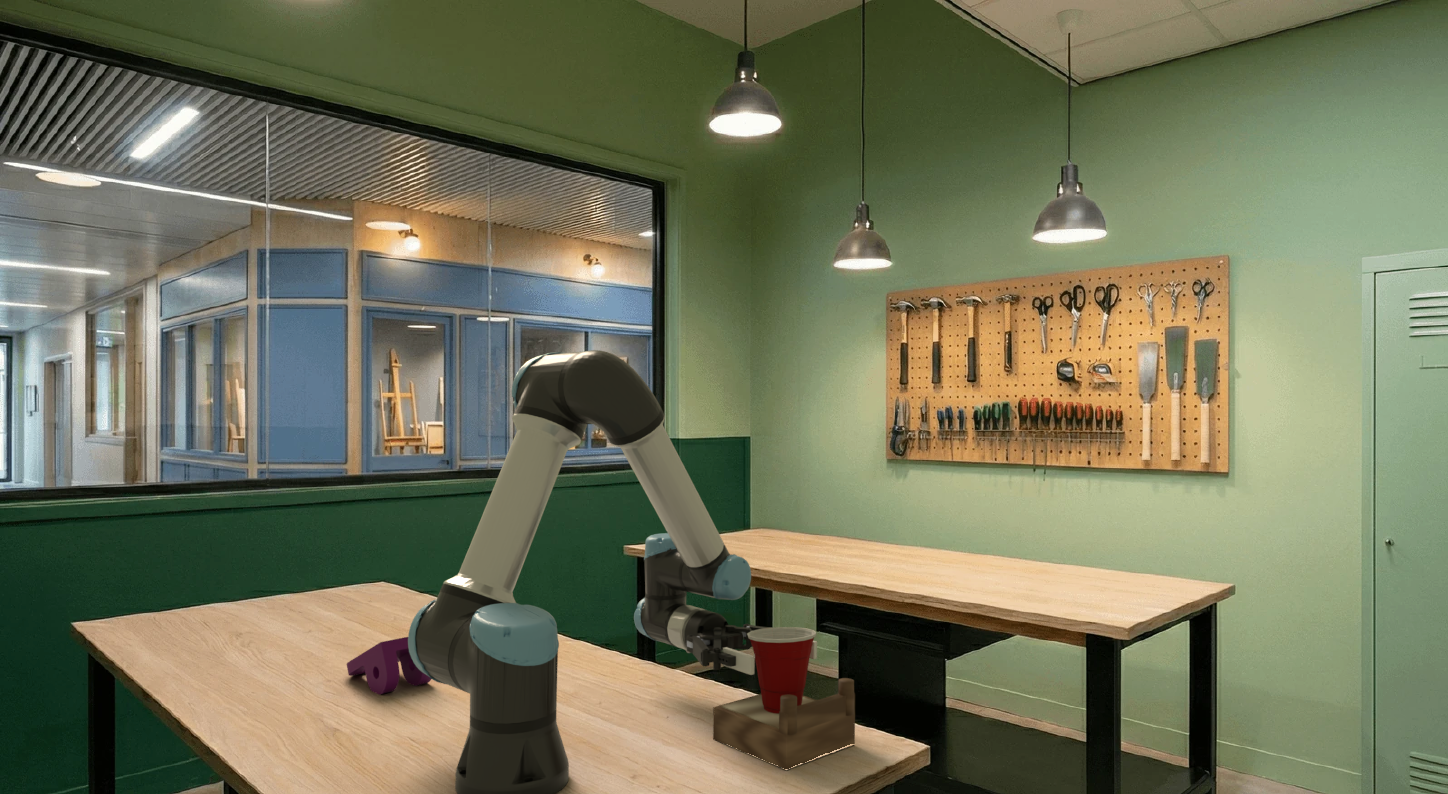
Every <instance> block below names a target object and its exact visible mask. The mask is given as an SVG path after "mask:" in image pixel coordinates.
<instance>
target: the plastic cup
mask: <svg viewBox="0 0 1448 794" xmlns="http://www.w3.org/2000/svg"><path fill="white" fill-rule="evenodd" d="M747 635H748V638H749V639H750V641H751V644H752V647H751V648H752V651H753V653H754V654H753V655H754V656H755V657H754V662H755V666H756V667H755V668H756V670H757V678H758V685H759V688H760V694H761V696H762V703H763V706H764V709H765V710H766V711H768V712H772V713H777V714H779V711H780V698H781V696H782V695H795V696H797V706H799V705H801V704H802V698H803V696H804V690H805V687H806V681H807V676H808V670H809V664H810V659H811V658H810V653H811V648H812V644H813V641H815V640H814V639H815V637H816V636H817V631H816V630H814V629H811V628H806V627H795V626H777V627H776V626H775V627H770V628H764V629H758V630H754V631H750V632H749V633H747Z"/></svg>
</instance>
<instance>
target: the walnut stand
mask: <svg viewBox="0 0 1448 794" xmlns="http://www.w3.org/2000/svg"><path fill="white" fill-rule="evenodd" d="M837 681H838V684H837V685H838V686H837V687H838V688H837V690H838V692H837V693H835V694H833V695H829V696H827V697H823V698H820V699H816V698H815V699H814V698H811V697H809V696H806V695H803V698H802V704H801V705H799V706H797V696H795V695H782V696H781V698H780V711H779V714H777V713H772V712H768V711H766V710H765V709H764V706H763V703H762V696H761V693H759V694H756V695H752V696H748V697H745V698H741V699H738V700H735V701H730V702H728V703H723V704H720V705H716V706H714V707H713V708H712V709H713V711H712V712H713V720H712V721H713V723H712V725H713V729H712V730H713V731H712V734H713V736H712V738H713V740H714V739H715V740H714V741H716V742H719V743H721V744H723V743H724V744H723V745H725V744H728V745H730V746H732V747H734V748H733V749H735V748H737V749H738V750H737V749H736V750H737V751H739V750H741V751H740V752H741V753H744V752H745V753H744V754H746V753H749V754H751V755H754V756H756V757H758V758H760V759H763V760H765V761H767V762H770V763H773V764H775V765H778V766H779V767H782V768H784V769H789V768H791V767H793V766H795V765H798V764H800V763H805V762H807V761H809V760H812V759H814V758H816V757H818V756H820V755H823V754H825V753H830V752H832V751H834V750H837V749H840V748H842V747H845V746H847V745H850V744H855V743H856V742H855V741H856V735H855V734H856V732H855V731H856V692H855V680H854V679H852V678H848V677H842V678H838V680H837ZM728 745H727V746H728ZM855 745H856V744H855ZM730 746H729V747H730ZM732 747H731V748H732ZM749 754H748V755H749ZM751 755H750V756H751ZM756 757H755V758H756ZM758 758H757V759H758ZM760 759H759V760H760ZM763 760H762V761H763ZM765 761H764V762H765ZM767 762H766V763H767ZM770 763H769V764H770ZM779 767H778V768H779ZM784 769H783V770H784ZM789 770H790V769H789Z"/></svg>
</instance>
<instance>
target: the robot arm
mask: <svg viewBox="0 0 1448 794" xmlns="http://www.w3.org/2000/svg"><path fill="white" fill-rule="evenodd" d="M511 397H512V398H513V406H514V412H513V414H512V417H511V421H513V424H514V426H515V429H516V433H515V435H514V438H513V440H512V441H511V445H510V447H509V449H508V452H507V454H506V457H505V460H504V462H503V464H502V467H501V469H500V472H499V474H498V476H497V478H496V481H495V484H494V486H493V488H492V491H491V493H490V496H489V499H488V500H487V503H486V505H485V507H484V510H483V513H482V515H481V518H480V521H479V522H478V525H477V526H476V530H475V531H474V532H475V533H474V535H473V537H472V540H471V541H470V545H469V548H468V549H467V552H466V554H465V557H464V559H463V562H462V563H461V566H460V568H459V572H458V573H457V574H456V575H454V576H453V577H451V578H448V579H446V580H444V581H443V583H442V585H441V588H440V590H439V593H438V595H437V597H436V598H435V599H433V600H431V601H429V603H427V604H425V605H423V606H422V607H421V608H420V609H419V610H418V611H417V613H416V614H415V616H414V617H413V619H412V622H411V623H410V626H409V629H408V630H409V631H408V636H407V637H408V648H409V653H410V655H411V658H412V660H413V662H414V664H415V665H416V667H417V668H418V669H419V670H420V671H421V672H423V673H424V674H426V675H428V676H429V677H430V678H431V681H432V680H433V681H434V682H436V683H440V684H443V685H447V686H451V687H452V688H455V689H458V690H460V691H463V692H465V693H467V694H469V730H468V733H467V736H466V738H465V743H464V745H463V747H462V748H463V749H462V752H461V754H460V757H459V759H458V763H457V766H456V769H455V786H454V787H455V788H454V789H455V791H456V793H457V794H556V793H558V792H560V791H561V790H562V789H564V787H566V785H567V784H568V782H569V777H570V776H569V774H570V773H569V772H570V771H569V770H570V769H569V767H570V766H569V758H568V755H567V752H566V749H565V746H564V743H563V740H562V737H561V733H560V731H559V726H558V723H557V708H558V707H557V706H558V705H557V702H558V700H557V699H558V698H557V697H558V664H559V663H558V662H559V659H558V658H559V657H558V656H559V646H560V643H559V636H558V626H557V622H556V619H555V617H554V616H553V615H552V614H551V613H550V612H548V611H547V610H546V609H543V608H542V607H538V606H537V605H536V606H535V605H531V604H520V603H517V602H516V600H515V597H514V594H513V592H514V589H515V587H516V584H517V581H518V579H519V577H520V574H521V571H522V569H523V566H524V563H525V561H526V559H527V555H528V553H529V551H530V549H531V545H532V543H533V541H534V538H535V535H536V532H537V530H538V527H539V524H540V522H541V519H542V517H543V515H544V511H545V509H546V506H547V503H548V501H549V499H550V496H551V493H552V491H553V488H554V486H555V483H556V481H557V479H558V475H559V473H560V470H561V468H562V465H563V462H564V460H565V457H566V455H567V452H568V451H569V450H570V449H572V448H575V447H577V446H579V445H580V444H581V442H582V440H583V437H584V435H585V433H586V429H587V427H588V425H593V426H596V427H597V428H598V429H600V430H601V431H602V432H603V433H604V434H605V436H606V437H607V440H608V441H609V443H610V444H611V446H614V447H617V448H620V449H621V451H622V454H623V455H624V456H625V458H626V461H627V462H628V464H629V466H630V467H631V469H632V471H633V473H634V474H635V476H636V478H637V480H638V482H639V484H640V486H641V487H642V489H643V491H644V492H645V494H646V496H647V498H648V500H649V502H650V504H651V505H652V507H653V508H654V511H655V512H656V514H657V516H658V518H659V520H660V521H661V523H662V525H663V527H664V529H665V531H666V532H665V533H655V534H651V535H649V536H648V537H646V539H645V542H644V543H645V545H644V546H645V548H644V557H643V561H644V582H645V583H644V585H645V586H644V587H645V595H644V597H643V598H642V599H641V600H640V601H639V602H638V603H637V605H636V609H635V611H634V614H633V620H634V621H633V622H634V624H635V625H634V626H635V628H636V629H637V630H638V632H639V633H640V634H642V635H643V636H645V637H647V638H649V639H651V640H653V641H654V642H655V641H656V642H661V643H665V644H667V645H669V646H673V647H676V648H679V649H682V650H685V651H686V653H687V654H692V655H693V656H694V657H695V659H696V660H697V661H698V662H699V664H700V665H701V666H703V667H709V666H710V664H711V663H712V665H713V666H712V669H713V670H716V671H720V670H721V669H722V667H723V666H724V667H726V668H729V669H732V670H735V671H738V672H741V673H743V674H746V675H750V676H752V675H755V655H754V654H753V655H752V654H749V653H745V652H743V651H740V650H750V649H751V648H753V647H752V644H751V641H750V639H749V638H748V635H747V633H749V632H750V631H754V630H758V629H764V628H771V627H767V626H759V625H753V624H749V623H745V624H742V625H743V626H736V625H732V624H729V623H728V622H727V619H726V618H725V617H724V616H723V615H722V614H720V613H719V612H713V611H710V610H707V609H704V608H700V607H696V606H693V605H689V604H687V593H691V594H696V595H701V596H705V597H709V598H714V599H717V600H729V601H736V600H738V599H741V598H743V596H744V595H745V594H746V592H747V591H748V590H749V587H750V584H751V583H752V582H751V581H752V570H751V565H750V563H749V562H748V561H747V559H745V558H744V557H742V556H739V555H737V554H736V553H733V554H731V553H730V552H729V551H728V549H727V547H726V544H725V543H724V540H723V539H722V536H721V535H720V533H719V530H718V529H717V528H716V525H715V523H714V521H713V519H712V517H711V516H710V512H709V511H708V510H707V508H706V505H705V504H704V502H703V500H702V498H701V495H700V494H699V492H698V491H697V489H696V486H695V484H694V483H693V480H692V479H691V477H690V475H689V473H688V471H687V469H686V468H685V467H686V466H685V465H684V463H683V462H682V460H681V458H680V456H679V454H678V452H677V450H676V448H675V446H674V444H673V442H672V439H670V436H669V435H668V432H667V430H666V429H665V427H664V423H665V418H666V416H665V413H664V411H663V408H662V407H661V405H660V403H659V401H658V400H657V398H656V396H655V395H654V393H653V391H652V390H651V389H650V387H649V386H648V384H647V383H646V381H645V380H643V378H642V377H641V376H640V374H639V373H638V372H637V371H636V370H635V369H634V368H633V367H632V366H631V365H629V364H628V363H627V362H626V361H625V360H624V359H622V358H620V357H619V356H618V355H616V354H613V353H611V352H608V351H605V350H601V349H600V350H598V349H597V350H596V349H593V350H586V351H585V350H584V351H574V352H560V351H557V352H556V351H555V352H554V351H553V352H548V353H545V354H544V353H543V354H542V355H537V356H535V357H533V358H531V359H528V360H527V361H526V362H525V363H524V364H523V365H522V366H521V367H520V368H519V369H518V371H517V372H516V375H515V376H514V379H513V381H512V387H511ZM744 640H745V644H744ZM817 658H818V641H817V640H813V644H812V648H811V653H810V658H809V659H810V660H817Z"/></svg>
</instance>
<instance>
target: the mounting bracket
mask: <svg viewBox="0 0 1448 794" xmlns="http://www.w3.org/2000/svg"><path fill="white" fill-rule="evenodd" d="M399 664H400V665H399ZM400 666H401V672H402V675H403V678H404V679H405V681H406V683H407V684H409V685H412V686H414V687H417V686H420V685H425V684H428V683H430V682H431V681H432V679H431V678H430V677H429V676H428V675H426V674H424V673H423V672H421V671H420V670H419V669H418V668H417V667H416V665H415V664H414V662H413V660H412V658H411V655H410V653H409V648H408V636H406V637H404V636H403V637H400V638H395V639H391V640H385V641H384V640H383V641H379V643H377V644H376V645H373V646H372V647H371V648H369V649H367V650H366V651H364V652H362V653H361V654H358V656H356V657H354V658H352V659H351V660H349V661H347V663H346V668H347V674H348V676H350V677H352V676H353V677H354V676H358V675H363V674H365V678H366V682H367V685H368V687H369V689H370V691H371V692H373V693H374V694H377V695H379V696H380V695H384V694H387V693H388V694H389V693H392V692H394V691H395V690H396V689H397V687H398V684H399V681H400Z"/></svg>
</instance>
